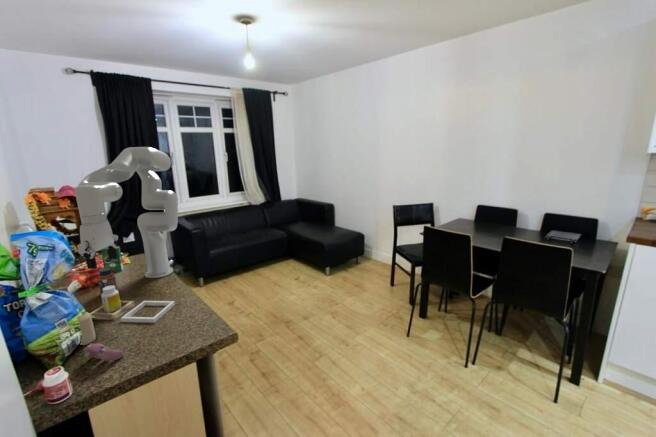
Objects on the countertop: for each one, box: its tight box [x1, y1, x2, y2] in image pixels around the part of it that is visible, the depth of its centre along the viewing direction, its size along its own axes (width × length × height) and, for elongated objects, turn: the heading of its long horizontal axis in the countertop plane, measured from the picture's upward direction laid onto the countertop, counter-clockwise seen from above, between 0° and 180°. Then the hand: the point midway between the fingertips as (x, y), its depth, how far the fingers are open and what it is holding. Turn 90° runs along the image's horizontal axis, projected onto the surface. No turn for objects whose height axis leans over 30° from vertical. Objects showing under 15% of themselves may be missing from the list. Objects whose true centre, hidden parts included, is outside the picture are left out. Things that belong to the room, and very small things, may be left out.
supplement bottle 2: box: [100, 286, 122, 313], centre depth 118 cm, size 6×6×10 cm
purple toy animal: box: [83, 342, 124, 363], centre depth 91 cm, size 10×5×7 cm, turn 70°
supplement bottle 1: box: [97, 267, 118, 295], centre depth 133 cm, size 6×6×11 cm
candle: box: [78, 311, 97, 346], centre depth 100 cm, size 6×6×10 cm
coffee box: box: [100, 246, 124, 273], centre depth 158 cm, size 8×3×13 cm, turn 104°
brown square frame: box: [89, 300, 136, 321], centre depth 119 cm, size 10×10×2 cm
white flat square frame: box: [120, 300, 176, 324], centre depth 118 cm, size 13×13×2 cm
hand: (103, 263), depth 114 cm, fingers open, 9 cm apart
